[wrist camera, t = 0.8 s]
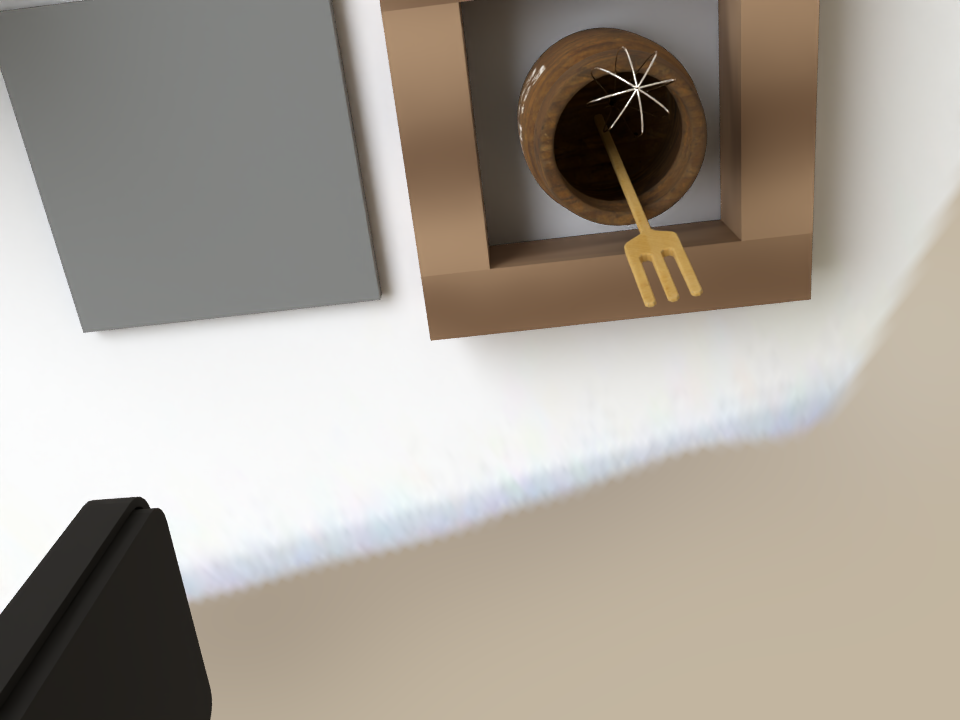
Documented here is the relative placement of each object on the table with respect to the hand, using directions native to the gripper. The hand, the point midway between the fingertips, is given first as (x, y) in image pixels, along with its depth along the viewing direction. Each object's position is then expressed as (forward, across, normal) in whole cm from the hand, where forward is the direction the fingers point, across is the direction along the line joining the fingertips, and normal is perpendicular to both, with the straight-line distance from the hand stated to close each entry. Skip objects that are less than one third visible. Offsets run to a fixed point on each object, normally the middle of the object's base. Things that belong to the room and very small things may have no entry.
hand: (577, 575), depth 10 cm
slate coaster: (+26, +12, -1) cm, 28 cm away
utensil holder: (+26, -3, -1) cm, 26 cm away
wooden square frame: (+26, -3, -1) cm, 26 cm away
